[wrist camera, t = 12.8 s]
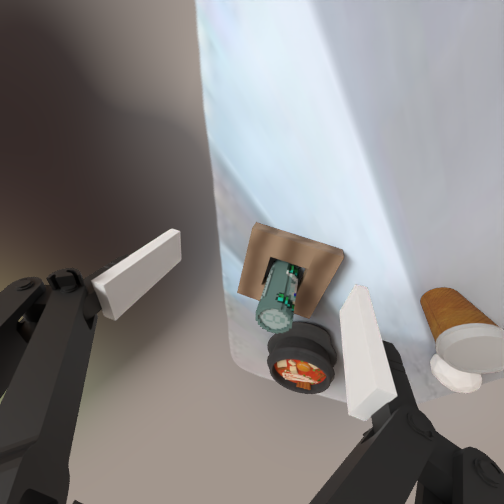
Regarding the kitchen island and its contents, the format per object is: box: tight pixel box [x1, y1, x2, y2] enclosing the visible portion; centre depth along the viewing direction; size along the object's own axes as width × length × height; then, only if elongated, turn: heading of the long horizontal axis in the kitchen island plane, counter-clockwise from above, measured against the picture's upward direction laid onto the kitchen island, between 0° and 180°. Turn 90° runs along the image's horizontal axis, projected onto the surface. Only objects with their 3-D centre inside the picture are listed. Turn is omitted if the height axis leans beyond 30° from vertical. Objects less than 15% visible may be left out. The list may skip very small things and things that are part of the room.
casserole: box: [267, 322, 337, 394], centre depth 55 cm, size 25×19×8 cm
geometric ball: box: [430, 353, 482, 394], centre depth 43 cm, size 8×8×8 cm
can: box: [256, 259, 300, 334], centre depth 40 cm, size 6×6×15 cm
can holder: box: [237, 222, 344, 319], centre depth 45 cm, size 18×18×3 cm
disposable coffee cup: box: [420, 288, 504, 374], centre depth 35 cm, size 10×10×12 cm
